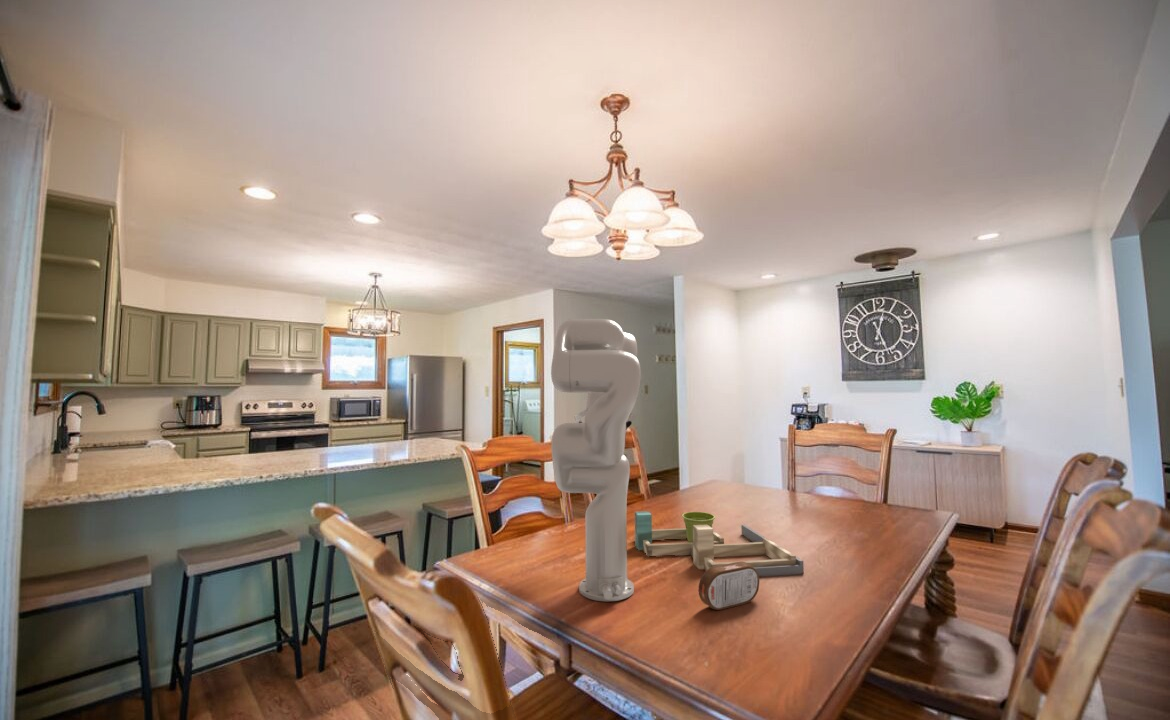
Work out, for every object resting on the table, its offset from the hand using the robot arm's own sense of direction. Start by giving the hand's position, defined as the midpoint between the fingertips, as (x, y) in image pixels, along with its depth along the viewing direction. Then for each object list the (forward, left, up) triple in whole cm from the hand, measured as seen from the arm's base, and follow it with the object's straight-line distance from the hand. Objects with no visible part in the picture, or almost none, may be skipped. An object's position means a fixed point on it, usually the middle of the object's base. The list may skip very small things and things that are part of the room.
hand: (604, 444), depth 136 cm
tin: (-35, -21, -31) cm, 51 cm away
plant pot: (+3, -28, -31) cm, 42 cm away
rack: (-5, -34, -30) cm, 46 cm away
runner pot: (+3, -22, -30) cm, 38 cm away
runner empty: (-13, -34, -30) cm, 47 cm away
